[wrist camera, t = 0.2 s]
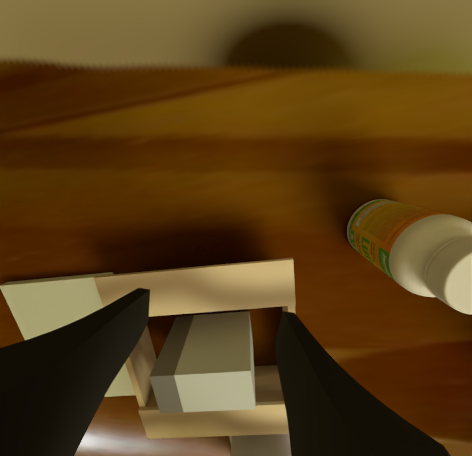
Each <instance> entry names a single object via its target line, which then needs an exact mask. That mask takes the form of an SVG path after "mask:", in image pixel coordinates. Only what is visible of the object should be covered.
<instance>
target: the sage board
mask: <svg viewBox="0 0 472 456" xmlns="http://www.w3.org/2000/svg"><path fill="white" fill-rule="evenodd" d="M103 275H114V273H113V272H108V273H98V274H87V275H77V276H66V277H55V278H45V279H34V280H23V281H13V282H6V283H4V284H2V285H0V289H1V291H2V293H3V295H4V297H5V299H6V301H7V303H8V305H9V307H10V310H11V312H12V314H13V316H14V318H15V320H16V322H17V324H18V326H19V328H20V330H21V333H22V335H23V337H24V339H25V340H28V339H31V338H34V337H36V336H39V335H42V334H45V333H48V332H50V331H53V330H56V329H58V328H61V327H63V326H65V325H68V324H70V323H72V322H75V321H77V320H79V319H81V318H83V317H85V316H87V315H89V314H91V313H93V312H95V311H97V310H99V309H101V308H103V304H102V301H101V298H100V295H99V292H98V290H97V287H96V284H95V281H94V277H96V276H103ZM129 395H136V394H135V391H134V388H133V385H132V382H131V379H130V376H129V373H128V370H127V367H126V364H125V363H124V365H123V367H122V368H121V370H120V371H119V373H118V374H117V376H116V377H115V379H114V381H113V382H112V384H111V385H110V387H109V389H108V391H107V392H106V394H105V396H104V397H109V396H129Z"/></svg>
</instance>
